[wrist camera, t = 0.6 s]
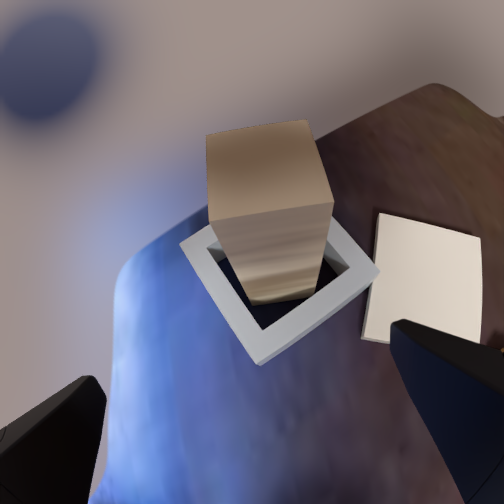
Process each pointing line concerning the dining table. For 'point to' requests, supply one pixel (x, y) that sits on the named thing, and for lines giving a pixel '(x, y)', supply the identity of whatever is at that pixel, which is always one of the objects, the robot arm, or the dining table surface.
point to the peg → (270, 207)
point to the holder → (299, 319)
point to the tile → (424, 280)
